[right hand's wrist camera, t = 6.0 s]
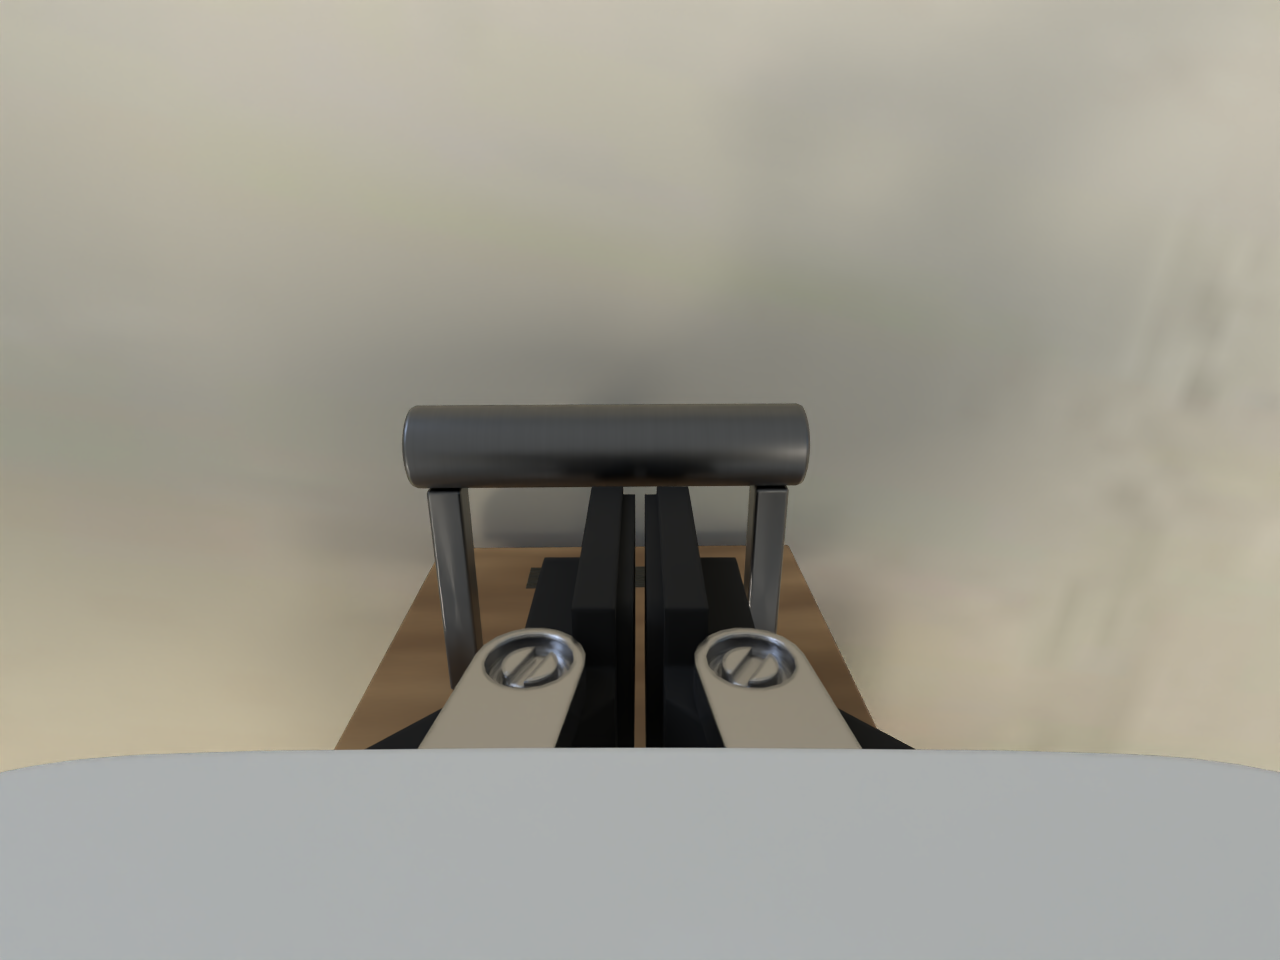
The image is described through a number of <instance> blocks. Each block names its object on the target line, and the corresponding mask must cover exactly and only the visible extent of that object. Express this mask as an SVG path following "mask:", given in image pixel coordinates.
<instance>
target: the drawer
mask: <svg viewBox="0 0 1280 960" xmlns="http://www.w3.org/2000/svg"><path fill="white" fill-rule="evenodd" d="M402 452H403V461H404V467H405V471H406V474H407V477H408V479H409V481H410V483H411V484H412V485H413V486H414V487H417V488H430V489H429V490H428V492H427V499H428V507H429V515H430V523H431V531H432V539H433V548H434V556H435V562H434V564H433V566H432V568H431V570H430V572H429V574H428V575H427V577H426V579H425V581H424V583H423V585H422V587H421V589H420V590H419V592H418V594H417V596H416V598H415V600H414V602H413V603H412V605H411V607H410V609H409V611H408V613H407V615H406V617H405V618H404V620H403V622H402V624H401V626H400V628H399V630H398V631H397V633H396V635H395V637H394V639H393V641H392V643H391V645H390V646H389V648H388V650H387V652H386V654H385V656H384V658H383V659H382V661H381V663H380V665H379V667H378V669H377V671H376V673H375V674H374V676H373V678H372V680H371V682H370V684H369V686H368V687H367V689H366V691H365V693H364V695H363V697H362V699H361V701H360V702H359V704H358V706H357V708H356V710H355V712H354V714H353V715H352V717H351V719H350V721H349V723H348V725H347V727H346V729H345V730H344V732H343V734H342V736H341V738H340V740H339V742H338V743H337V745H336V747H335V749H334V750H364V749H366V748H368V747H370V746H372V745H374V744H376V743H377V742H379V741H381V740H383V739H385V738H387V737H389V736H391V735H392V734H394V733H396V732H398V731H400V730H402V729H404V728H406V727H407V726H409V725H411V724H413V723H415V722H417V721H419V720H421V719H422V718H424V717H426V716H428V715H430V714H432V713H434V712H436V711H437V710H439V709H441V708H443V707H444V705H445V703H446V702H447V700H448V699H449V697H450V695H451V694H452V692H453V690H454V689H455V687H456V686H457V684H458V682H459V681H460V679H461V677H462V676H463V674H464V673H465V671H466V669H467V668H468V666H469V664H470V663H471V661H472V660H473V658H474V656H475V655H476V653H477V652H478V651H479V650H480V649H481V648H482V647H483V646H484V644H486V643H488V642H489V641H491V640H492V639H494V638H495V637H497V636H500V635H502V634H505V633H508V632H510V631H514V630H520V629H525V626H526V622H527V618H528V615H529V611H530V607H531V604H532V600H533V596H534V593H535V589H536V585H537V582H538V578H539V574H540V571H541V567H542V563H543V560H544V558H545V557H580V554H581V548H582V547H541V548H474V546H473V536H472V526H471V515H470V505H469V495H468V488H513V487H592V486H623V487H640V486H750V490H749V506H748V523H747V539H746V546H698V548H699V554H700V557H735V558H736V560H737V563H738V567H739V571H740V574H741V578H742V582H743V585H744V589H745V593H746V596H747V600H748V604H749V607H750V611H751V615H752V618H753V622H754V626H755V629H760V630H766V631H770V632H772V633H775V634H778V635H780V636H783V637H785V638H786V639H788V640H789V641H791V642H792V643H794V644H796V646H797V647H798V648H799V649H800V650H801V651H802V652H803V653H804V655H805V656H806V658H807V660H808V661H809V663H810V664H811V666H812V668H813V669H814V671H815V673H816V674H817V676H818V677H819V679H820V681H821V682H822V684H823V686H824V687H825V689H826V690H827V692H828V694H829V695H830V697H831V699H832V700H833V702H834V703H835V705H836V707H837V708H839V709H841V710H843V711H844V712H846V713H848V714H850V715H852V716H854V717H856V718H858V719H859V720H861V721H863V722H865V723H867V724H869V725H871V726H873V727H874V728H876V726H875V724H874V721H873V719H872V717H871V715H870V713H869V711H868V709H867V707H866V705H865V703H864V701H863V699H862V697H861V695H860V693H859V690H858V688H857V686H856V684H855V682H854V680H853V678H852V676H851V674H850V672H849V670H848V668H847V666H846V664H845V662H844V659H843V657H842V655H841V653H840V651H839V649H838V647H837V645H836V643H835V641H834V639H833V637H832V635H831V633H830V631H829V628H828V626H827V624H826V622H825V620H824V618H823V616H822V614H821V612H820V610H819V608H818V606H817V604H816V602H815V599H814V597H813V595H812V593H811V591H810V589H809V587H808V585H807V583H806V581H805V579H804V577H803V575H802V573H801V571H800V568H799V566H798V564H797V562H796V560H795V558H794V556H793V554H792V552H791V550H790V548H789V546H787V545H784V539H785V528H786V516H787V504H788V492H789V491H788V488H787V486H786V485H798V484H800V483H802V482H803V480H804V478H805V475H806V472H807V468H808V463H809V455H810V433H809V424H808V420H807V416H806V413H805V410H804V408H803V407H802V406H801V405H799V404H621V405H443V406H415V407H413V408H411V409H410V410H409V412H408V414H407V416H406V419H405V423H404V428H403V437H402ZM876 729H877V728H876ZM634 748H646V734H645V547H635V734H634Z"/></svg>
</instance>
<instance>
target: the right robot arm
mask: <svg viewBox="0 0 1280 960" xmlns="http://www.w3.org/2000/svg"><path fill="white" fill-rule="evenodd" d="M634 734H635V494H623V486H592V489H591V495H590V501H589V507H588V513H587V519H586V524H585V530H584V536H583V542H582V548H581V554H580V557H545V558H544V560H543V563H542V567H541V571H540V574H539V578H538V582H537V585H536V589H535V593H534V596H533V600H532V604H531V607H530V611H529V615H528V618H527V622H526V626H525V629H520V630H514V631H510V632H508V633H505V634H502V635H500V636H497V637H495V638H494V639H492V640H491V641H489V642H488V643H486V644H484V646H483V647H482V648H481V649H480V650H479V651H478V652H477V653H476V655H475V656H474V658H473V660H472V661H471V663H470V664H469V666H468V668H467V669H466V671H465V673H464V674H463V676H462V677H461V679H460V681H459V682H458V684H457V686H456V687H455V689H454V690H453V692H452V694H451V695H450V697H449V699H448V700H447V702H446V703H445V705H444V707H443V708H441V709H439V710H437V711H436V712H434V713H432V714H430V715H428V716H426V717H424V718H422V719H421V720H419V721H417V722H415V723H413V724H411V725H409V726H407V727H406V728H404V729H402V730H400V731H398V732H396V733H394V734H392V735H391V736H389V737H387V738H385V739H383V740H381V741H379V742H377V743H376V744H374V745H372V746H370V747H368V748H366V749H364V750H288V751H239V752H208V753H177V754H146V755H125V756H113V757H102V758H90V759H79V760H70V761H63V762H56V763H50V764H43V765H36V766H30V767H25V768H20V769H15V770H10V771H5V772H0V960H1280V772H1275V771H1270V770H1265V769H1260V768H1254V767H1249V766H1244V765H1238V764H1231V763H1224V762H1217V761H1209V760H1200V759H1191V758H1179V757H1168V756H1155V755H1134V754H1108V753H1073V752H1037V751H1001V750H916V749H914V748H912V747H910V746H908V745H906V744H904V743H903V742H901V741H899V740H897V739H895V738H893V737H891V736H889V735H888V734H886V733H884V732H882V731H880V730H878V729H876V728H874V727H873V726H871V725H869V724H867V723H865V722H863V721H861V720H859V719H858V718H856V717H854V716H852V715H850V714H848V713H846V712H844V711H843V710H841V709H839V708H837V707H836V705H835V703H834V702H833V700H832V699H831V697H830V695H829V694H828V692H827V690H826V689H825V687H824V686H823V684H822V682H821V681H820V679H819V677H818V676H817V674H816V673H815V671H814V669H813V668H812V666H811V664H810V663H809V661H808V660H807V658H806V656H805V655H804V653H803V652H802V651H801V650H800V649H799V648H798V647H797V646H796V644H794V643H792V642H791V641H789V640H788V639H786V638H785V637H783V636H780V635H778V634H775V633H772V632H770V631H766V630H760V629H755V626H754V622H753V618H752V615H751V611H750V607H749V604H748V600H747V596H746V593H745V589H744V585H743V582H742V578H741V574H740V571H739V567H738V563H737V560H736V558H735V557H700V554H699V548H698V542H697V536H696V530H695V524H694V519H693V513H692V507H691V501H690V495H689V489H688V486H657V494H645V734H646V748H634Z"/></svg>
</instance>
